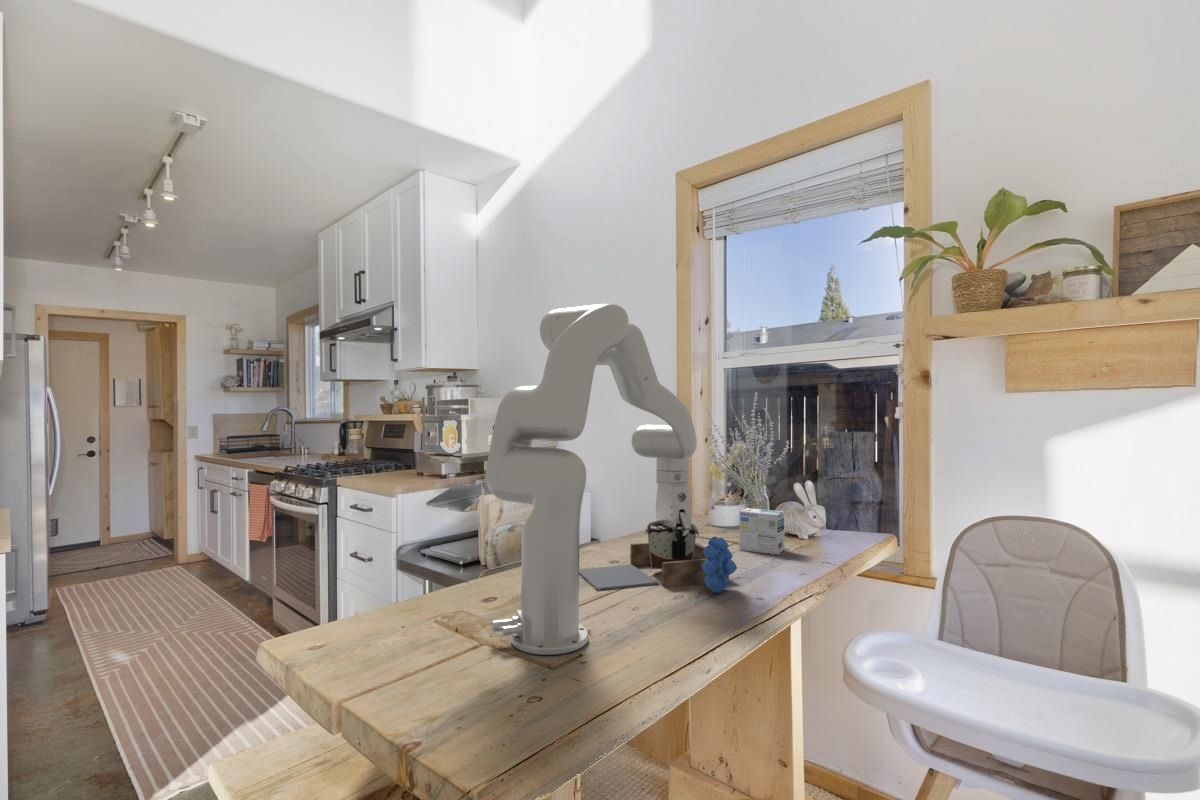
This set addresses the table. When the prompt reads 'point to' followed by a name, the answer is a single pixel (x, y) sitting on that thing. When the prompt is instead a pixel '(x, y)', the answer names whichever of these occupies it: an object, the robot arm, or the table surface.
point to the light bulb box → (761, 530)
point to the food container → (667, 543)
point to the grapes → (717, 564)
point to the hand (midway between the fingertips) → (671, 553)
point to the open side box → (673, 565)
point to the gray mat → (616, 577)
